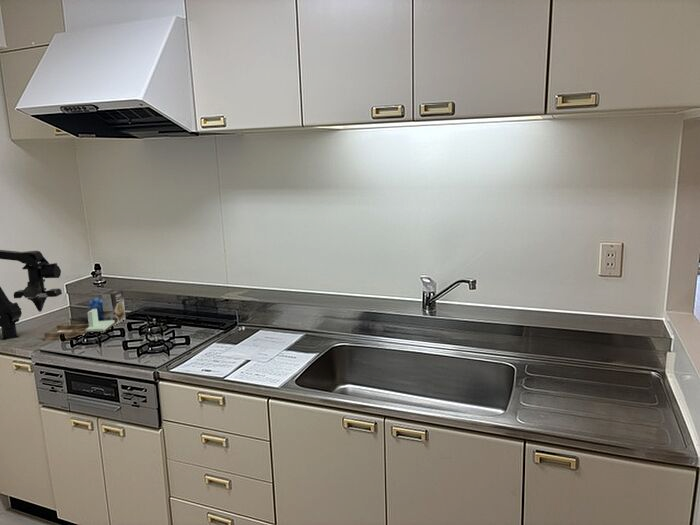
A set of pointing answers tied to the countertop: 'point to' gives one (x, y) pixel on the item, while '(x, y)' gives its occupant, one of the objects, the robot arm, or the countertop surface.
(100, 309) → the grapes
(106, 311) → the coffee box
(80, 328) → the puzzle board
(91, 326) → the mint green l-shaped block
